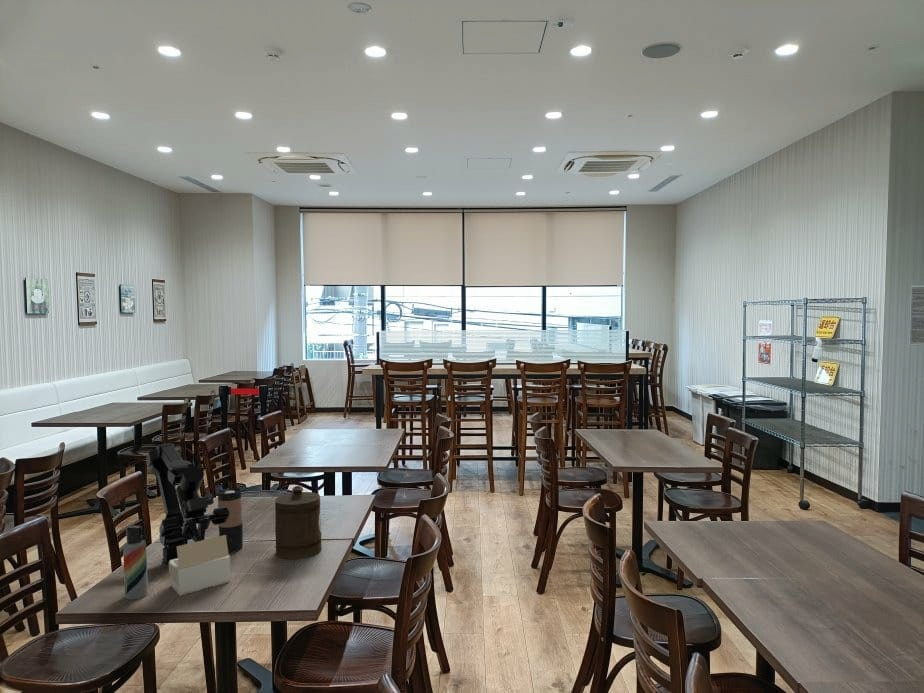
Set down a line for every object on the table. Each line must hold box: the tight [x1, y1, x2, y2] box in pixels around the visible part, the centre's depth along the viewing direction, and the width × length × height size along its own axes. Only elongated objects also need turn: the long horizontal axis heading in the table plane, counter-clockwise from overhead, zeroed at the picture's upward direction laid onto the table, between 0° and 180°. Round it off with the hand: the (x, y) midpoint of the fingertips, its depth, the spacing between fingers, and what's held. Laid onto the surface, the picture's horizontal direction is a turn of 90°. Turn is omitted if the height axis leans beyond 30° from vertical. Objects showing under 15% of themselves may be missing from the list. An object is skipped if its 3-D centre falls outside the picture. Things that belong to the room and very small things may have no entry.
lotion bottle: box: [122, 525, 149, 601], centre depth 171 cm, size 6×6×20 cm
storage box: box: [168, 554, 231, 597], centre depth 178 cm, size 10×15×8 cm, turn 130°
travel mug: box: [217, 487, 244, 553], centre depth 206 cm, size 8×8×20 cm
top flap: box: [177, 535, 230, 568], centre depth 175 cm, size 6×14×1 cm
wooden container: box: [274, 485, 323, 560], centre depth 202 cm, size 15×15×22 cm
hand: (202, 546), depth 176 cm, fingers closed, pressing on top flap
